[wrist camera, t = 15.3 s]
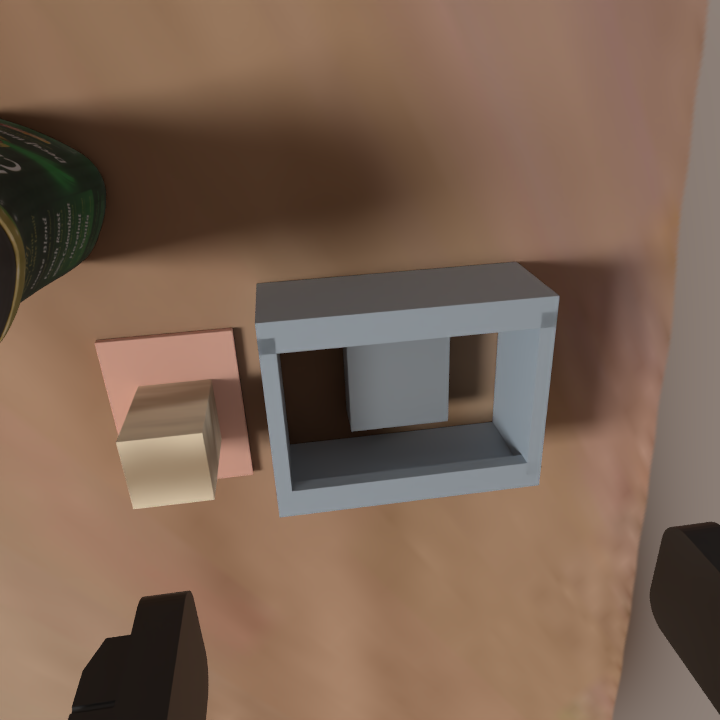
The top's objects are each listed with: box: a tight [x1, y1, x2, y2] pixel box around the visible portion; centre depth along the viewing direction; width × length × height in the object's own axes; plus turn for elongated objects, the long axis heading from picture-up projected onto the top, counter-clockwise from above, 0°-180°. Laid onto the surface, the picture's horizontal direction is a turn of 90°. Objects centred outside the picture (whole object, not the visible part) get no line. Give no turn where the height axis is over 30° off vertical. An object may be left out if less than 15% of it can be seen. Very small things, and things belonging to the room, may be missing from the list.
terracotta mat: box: [95, 328, 253, 479], centre depth 44 cm, size 12×9×1 cm
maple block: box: [116, 379, 222, 509], centre depth 40 cm, size 5×5×7 cm
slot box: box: [255, 262, 559, 517], centre depth 42 cm, size 14×18×7 cm
